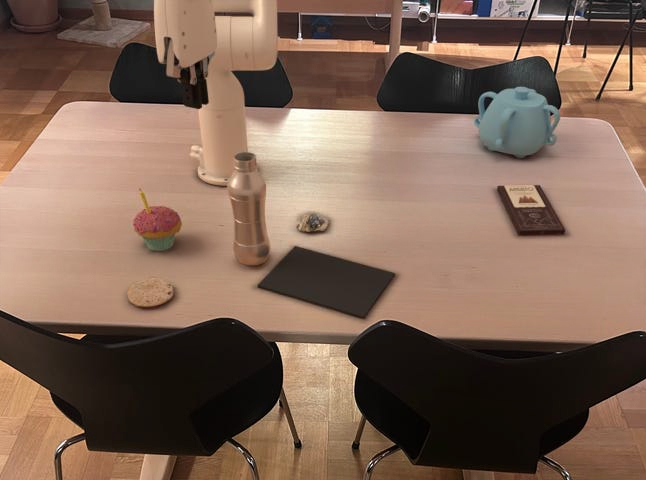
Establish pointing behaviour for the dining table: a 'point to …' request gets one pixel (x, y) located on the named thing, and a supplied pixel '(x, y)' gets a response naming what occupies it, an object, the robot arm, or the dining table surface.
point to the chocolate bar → (530, 210)
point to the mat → (327, 281)
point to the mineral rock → (312, 223)
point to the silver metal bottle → (248, 210)
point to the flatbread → (150, 292)
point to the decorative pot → (516, 121)
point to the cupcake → (157, 225)
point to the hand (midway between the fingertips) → (196, 104)
